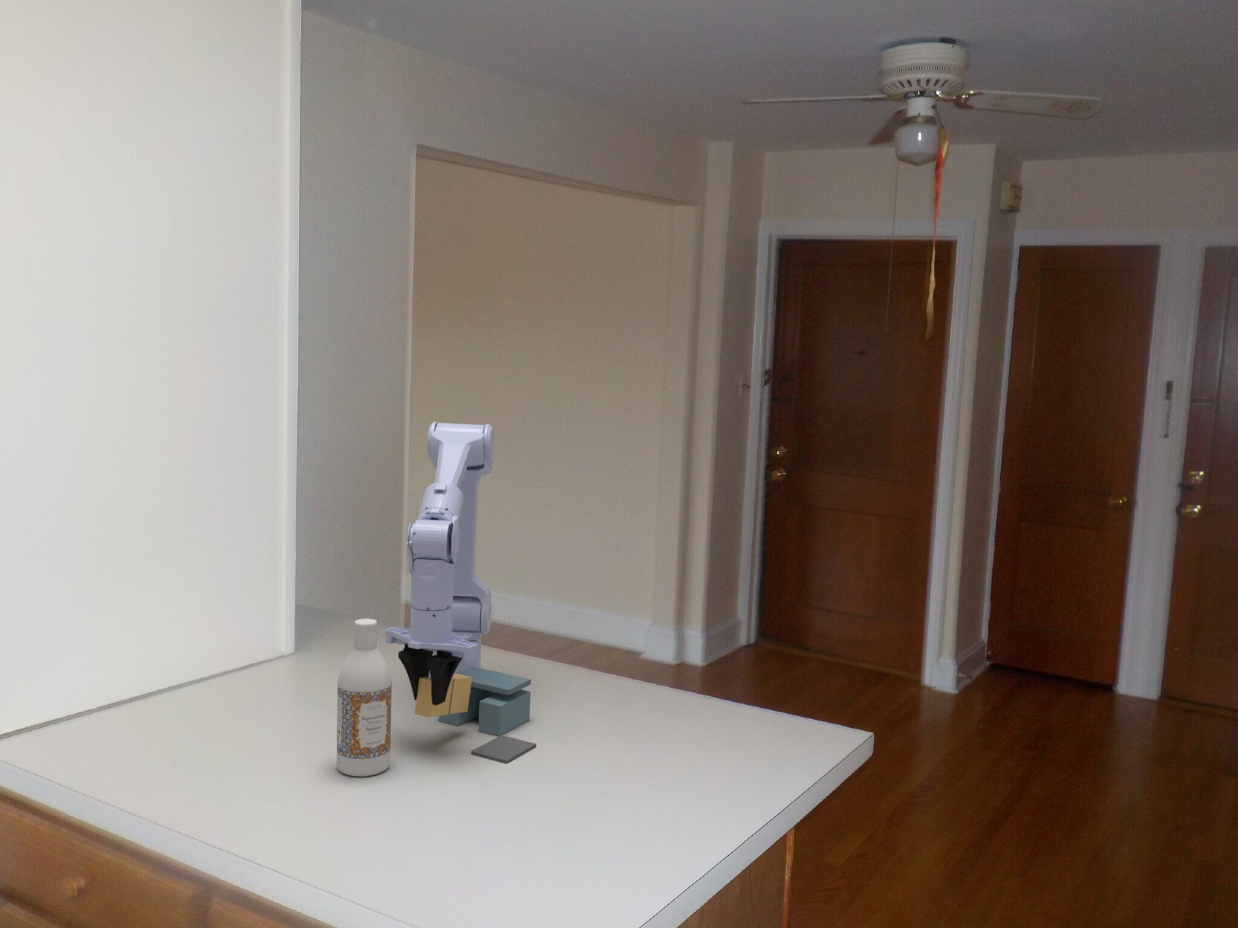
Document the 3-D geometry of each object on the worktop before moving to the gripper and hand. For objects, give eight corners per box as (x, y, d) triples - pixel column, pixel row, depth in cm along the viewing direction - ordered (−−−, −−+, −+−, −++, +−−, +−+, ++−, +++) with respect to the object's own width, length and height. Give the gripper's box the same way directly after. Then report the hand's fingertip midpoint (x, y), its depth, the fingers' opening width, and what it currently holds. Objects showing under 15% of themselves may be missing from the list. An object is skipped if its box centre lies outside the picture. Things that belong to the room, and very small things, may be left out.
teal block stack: (438, 720, 163) (439, 679, 163) (470, 705, 170) (471, 666, 170) (499, 736, 158) (500, 693, 158) (529, 720, 165) (530, 679, 165)
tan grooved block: (414, 713, 151) (419, 677, 151) (452, 707, 159) (457, 673, 159) (429, 717, 150) (434, 680, 150) (467, 711, 158) (472, 676, 158)
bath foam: (347, 781, 140) (349, 630, 138) (329, 762, 146) (331, 617, 144) (398, 771, 144) (400, 624, 142) (378, 753, 150) (381, 612, 148)
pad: (471, 753, 151) (471, 750, 151) (501, 737, 158) (501, 734, 158) (506, 763, 149) (507, 760, 148) (536, 746, 155) (536, 743, 155)
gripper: (371, 603, 150) (370, 698, 152) (456, 620, 143) (454, 719, 145) (404, 593, 156) (402, 684, 158) (487, 609, 149) (485, 704, 151)
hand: (429, 700), depth 152 cm, fingers closed on tan grooved block, 3 cm apart
